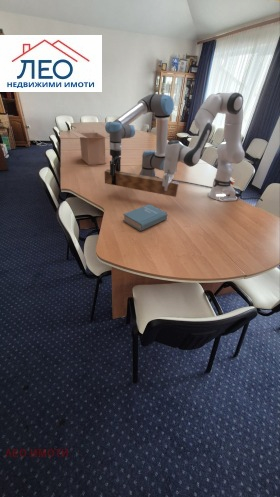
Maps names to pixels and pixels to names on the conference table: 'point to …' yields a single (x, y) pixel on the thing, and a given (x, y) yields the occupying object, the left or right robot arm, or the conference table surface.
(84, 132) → the box
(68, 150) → the conference table surface
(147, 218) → the book
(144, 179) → the post
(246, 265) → the conference table surface
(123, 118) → the left robot arm
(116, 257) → the conference table surface
